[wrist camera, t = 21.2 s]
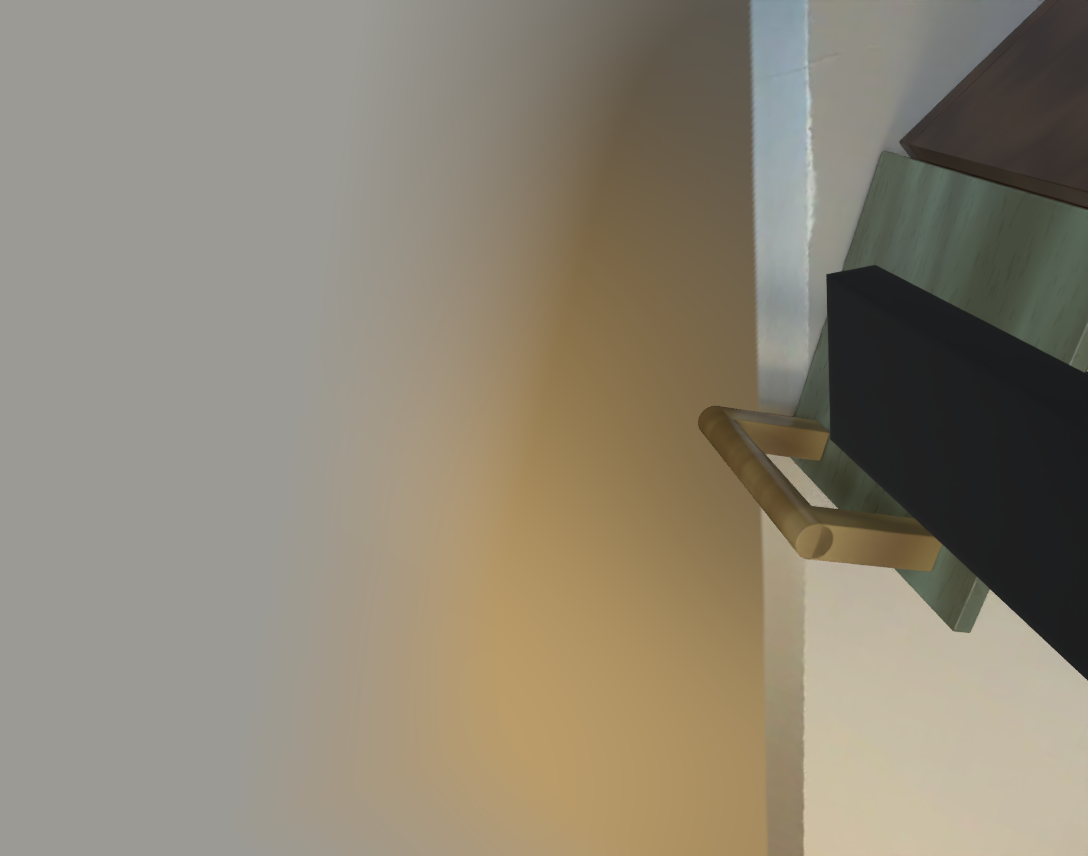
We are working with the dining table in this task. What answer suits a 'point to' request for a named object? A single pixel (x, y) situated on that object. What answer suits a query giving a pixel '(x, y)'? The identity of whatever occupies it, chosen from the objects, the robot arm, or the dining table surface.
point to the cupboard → (1020, 110)
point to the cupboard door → (960, 279)
